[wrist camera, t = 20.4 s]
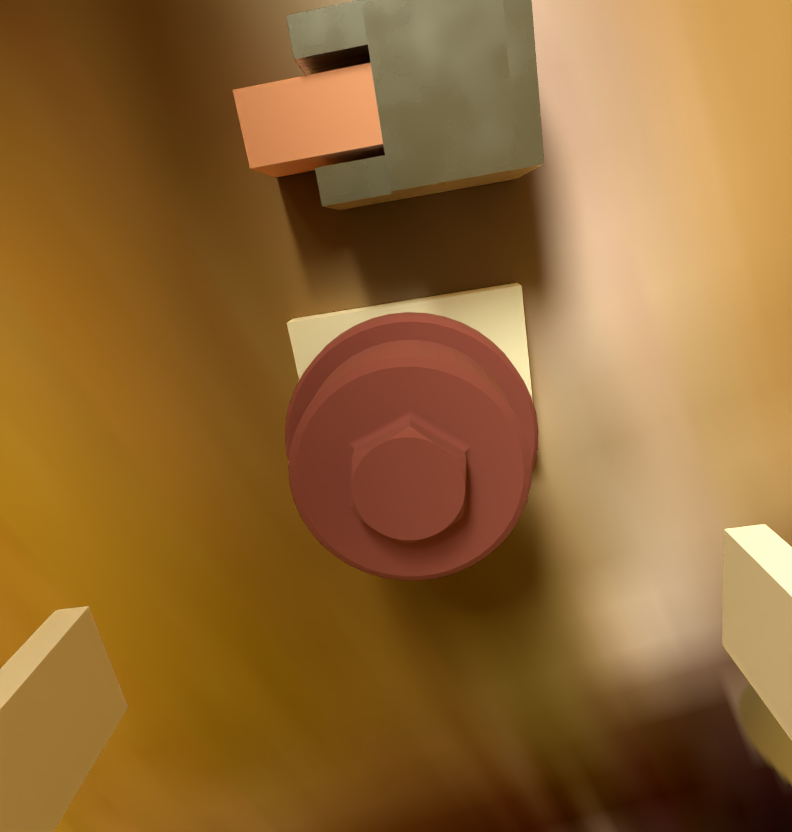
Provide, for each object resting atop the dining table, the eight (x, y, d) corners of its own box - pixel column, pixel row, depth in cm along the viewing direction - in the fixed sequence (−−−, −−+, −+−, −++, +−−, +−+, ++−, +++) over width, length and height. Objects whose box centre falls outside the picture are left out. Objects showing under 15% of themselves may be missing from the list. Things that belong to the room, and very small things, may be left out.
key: (274, 177, 29) (250, 168, 24) (261, 111, 28) (232, 89, 23) (434, 148, 28) (437, 133, 24) (425, 79, 27) (426, 51, 23)
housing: (338, 210, 29) (316, 204, 23) (310, 54, 27) (277, 1, 21) (516, 178, 28) (544, 164, 22) (501, 16, 26) (527, -52, 20)
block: (325, 471, 34) (321, 481, 32) (292, 318, 31) (286, 322, 30) (532, 443, 33) (537, 452, 31) (516, 282, 30) (521, 285, 29)
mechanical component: (286, 419, 31) (379, 255, 28) (442, 507, 32) (546, 358, 30) (205, 533, 19) (349, 272, 17) (455, 665, 21) (629, 443, 18)
